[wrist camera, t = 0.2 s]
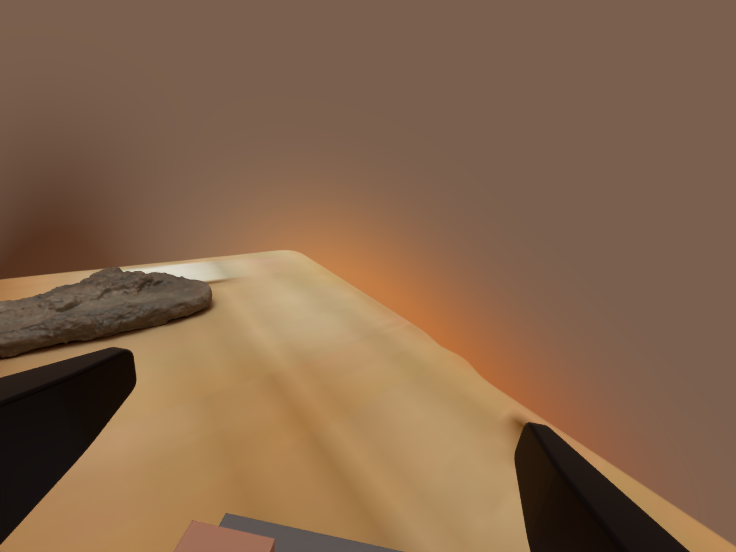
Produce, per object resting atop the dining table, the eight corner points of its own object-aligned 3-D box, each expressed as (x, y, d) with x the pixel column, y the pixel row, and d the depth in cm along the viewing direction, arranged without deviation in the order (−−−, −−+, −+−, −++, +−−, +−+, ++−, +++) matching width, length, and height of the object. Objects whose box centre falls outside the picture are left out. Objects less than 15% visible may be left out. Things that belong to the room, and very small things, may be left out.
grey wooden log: (-226, 366, 30) (-321, 454, 23) (-269, 316, 28) (-390, 396, 21) (203, 285, 50) (222, 319, 42) (198, 251, 47) (218, 281, 40)
